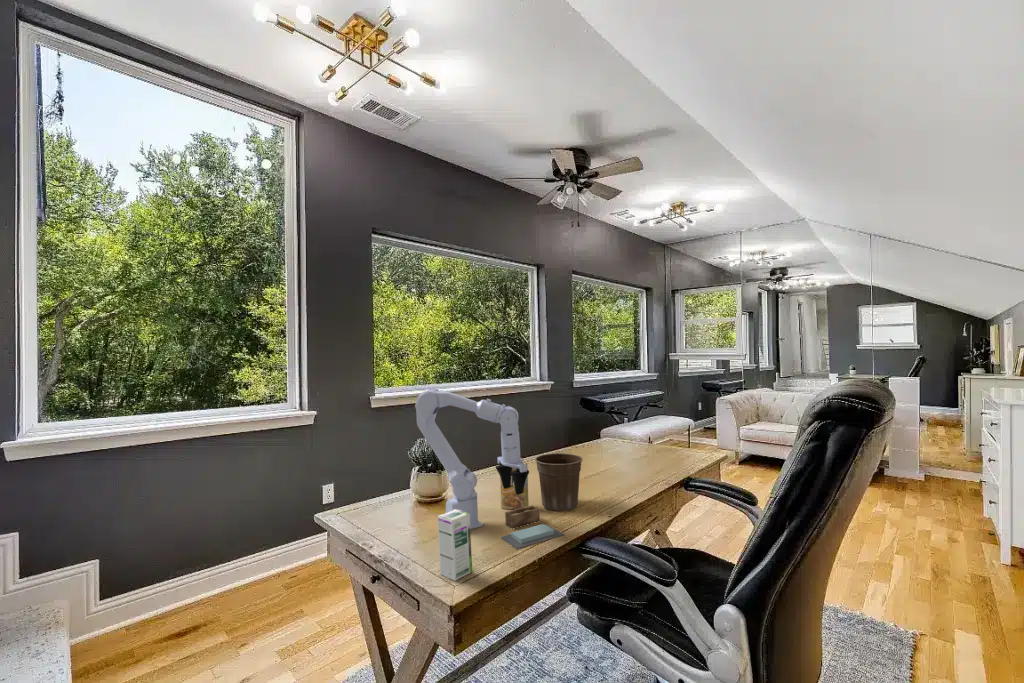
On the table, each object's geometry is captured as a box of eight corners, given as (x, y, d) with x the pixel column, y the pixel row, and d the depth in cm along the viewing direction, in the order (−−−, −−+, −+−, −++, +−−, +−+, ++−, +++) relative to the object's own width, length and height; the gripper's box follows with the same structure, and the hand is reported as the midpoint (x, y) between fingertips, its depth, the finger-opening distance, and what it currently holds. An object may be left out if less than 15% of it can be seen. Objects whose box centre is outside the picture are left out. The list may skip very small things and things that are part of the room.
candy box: (500, 508, 155) (499, 463, 155) (505, 504, 159) (503, 460, 159) (525, 511, 152) (523, 465, 152) (529, 507, 155) (527, 462, 156)
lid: (520, 543, 126) (520, 539, 126) (511, 536, 131) (511, 532, 131) (554, 534, 132) (553, 529, 132) (543, 527, 136) (543, 523, 136)
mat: (516, 549, 123) (516, 548, 123) (500, 538, 131) (500, 537, 131) (564, 535, 132) (564, 534, 132) (546, 525, 139) (546, 524, 139)
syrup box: (455, 581, 107) (453, 520, 108) (439, 574, 111) (437, 514, 111) (472, 572, 112) (470, 512, 112) (456, 565, 116) (454, 507, 116)
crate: (512, 529, 137) (511, 515, 137) (505, 524, 141) (505, 511, 141) (539, 521, 142) (539, 508, 142) (532, 517, 146) (532, 505, 146)
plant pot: (562, 494, 168) (560, 450, 168) (594, 505, 155) (592, 458, 155) (527, 504, 158) (525, 458, 158) (558, 517, 145) (556, 467, 145)
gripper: (534, 448, 137) (536, 493, 137) (509, 441, 149) (512, 482, 149) (514, 452, 133) (516, 498, 133) (490, 444, 146) (493, 487, 145)
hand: (513, 490), depth 141 cm, fingers open, 7 cm apart
